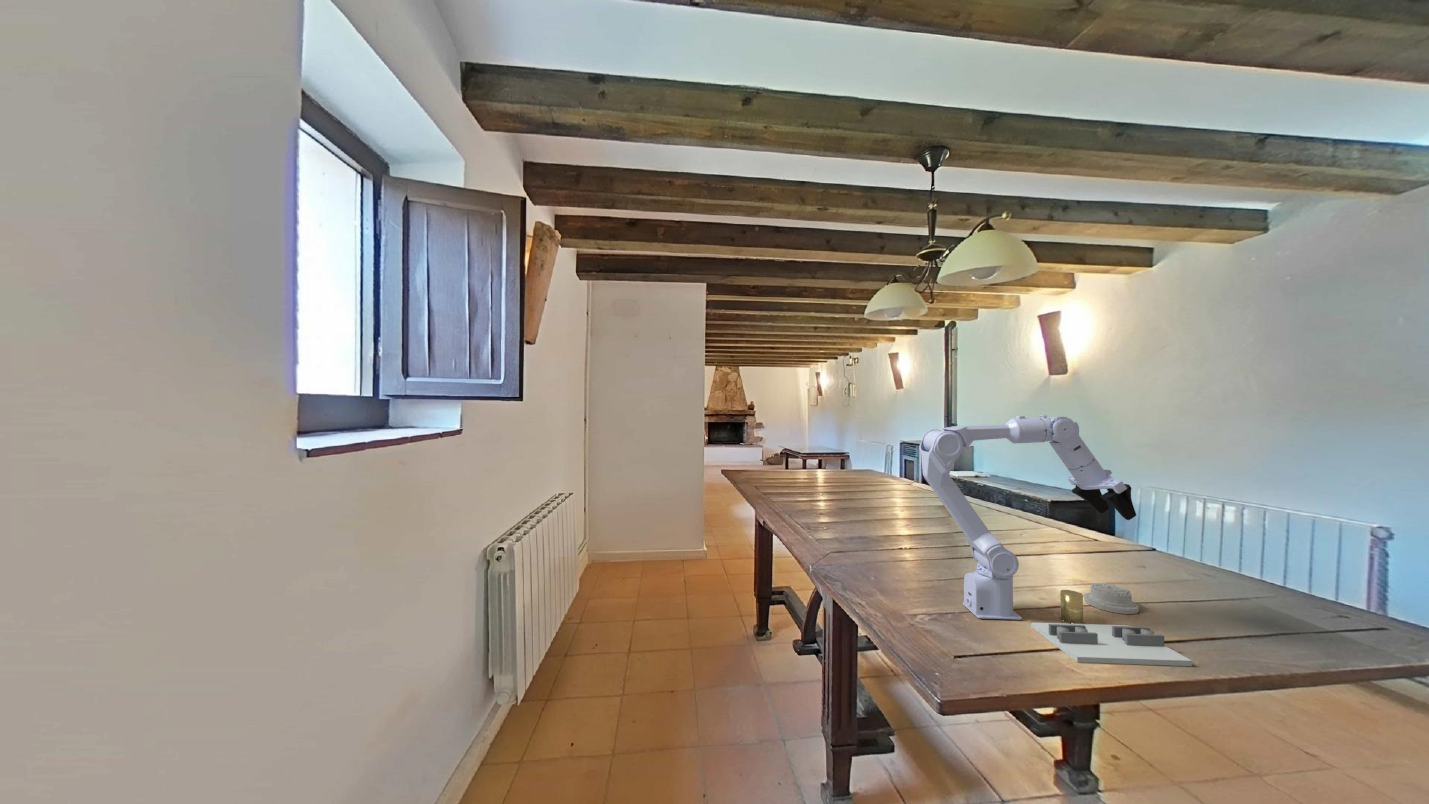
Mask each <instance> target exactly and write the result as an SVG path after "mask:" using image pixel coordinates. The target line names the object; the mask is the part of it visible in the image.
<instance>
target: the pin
mask: <svg viewBox="0 0 1429 804" xmlns="http://www.w3.org/2000/svg"><path fill="white" fill-rule="evenodd" d="M1059 592H1060V594H1059V595H1060V607H1059V608H1060V610H1059V611H1060V613H1059V614H1060V620H1061V621H1063V620H1064V621H1063V622H1065V623H1067V622H1068V623H1067V624H1070V623H1073V624H1082V623H1083V624H1084V594H1082V593H1080V592H1078V591H1076V590H1070V589H1061V590H1060V591H1059Z"/></svg>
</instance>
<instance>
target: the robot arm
mask: <svg viewBox="0 0 1429 804" xmlns="http://www.w3.org/2000/svg"><path fill="white" fill-rule="evenodd" d="M999 439H1007V440H1008V441H1009V442H1010V443H1011V444H1035V443H1037V444H1038V443H1045V442H1048V443H1049V444H1050V446H1051V447H1052V449H1053V450H1054V452H1055V453H1056V455H1057V456H1058V457H1059V459H1060V460H1061V462H1062V463H1063V464H1064V465H1065V467H1066V469H1067V471H1068V472H1069V474H1070V476H1068V477H1067V480H1068V481H1069V482H1070V484H1071V486H1072V485H1073V486H1074V488H1072V490H1071V493H1073V494H1075V495H1076V496H1078V497H1079V498H1081V499H1083V500H1084V501H1086V502H1087V504H1089V505H1090V506H1091V507H1092V508H1094V510H1096V512H1098V513H1099V514H1104V513H1105V512H1107V511H1108V510H1110V506H1112V507H1113V508H1114V509H1115V510H1116V512H1118V514H1119V515H1120V516H1121V517H1122V518H1123V519H1125V520H1126V521H1130V520H1131V519H1134V518H1135V517H1136V516H1137V512H1136V509H1135V507H1134V503H1133V500H1132V487H1131V484H1127V483H1124V482H1123V480H1119V479H1117V478H1115V477H1114V476H1112V474H1113V472H1112V471H1111V470H1110V469H1104V468H1103V467H1102V465H1101V464H1100V463H1099V461H1098V460H1097V458H1096V456H1095V455H1094V454H1093V452H1092V451H1091V450H1090V449H1089V447H1088V446H1087V444H1086V443H1085V442H1084V440H1083V439H1082V437H1081V436H1080V426H1079V423H1078V422H1076V421H1074V420H1073V419H1071V418H1069V417H1067V416H1052V415H1051V416H1050V415H1049V416H1048V415H1047V414H1044V415H1043V414H1040V415H1039V416H1038V417H1036V416H1035V417H1026V416H1025V415H1016V416H1015V418H1010V419H1009V420H1008V421H1007V422H1005V424H982V425H981V424H979V425H978V424H977V425H971V424H970V425H956V426H948V427H942V428H941V429H937V428H936V429H935V428H933V429H930V430H928V431H926V432H925V433H924V434H923V436H922V438H921V441H920V444H919V447H918V448H919V451H920V454H921V455H920V456H921V467H922V476H923V478H924V480H925V481H926V482H927V483H928V485H929V487H930V488H931V489H932V490H933V492H934V493H935V495H936V496H937V498H938V499H939V500H940V502H941V503H942V505H943V506H944V507H945V509H946V510H947V511H948V513H949V515H950V516H951V517H952V519H953V520H954V521H955V523H956V525H958V527H959V529H960V530H961V531H962V533H963V534H964V536H965V537H966V539H967V544H968V545H969V547H970V549H971V554H972V557H973V559H974V561H975V562H977V564H976V570H974V571H973V572H967V573H965V575H964V577H963V602H962V605H963V606H964V607H965V608H966V609H967V610H969V611H970V613H972V614H973V615H974V616H975V617H976V618H978V619H984V620H985V619H988V620H1013V621H1020V620H1021V621H1022V619H1023V617H1022V616H1021V615H1020V614H1018V613H1016V612H1015V611H1014V600H1013V599H1014V576H1015V574H1017V572H1018V570H1019V567H1020V563H1019V559H1018V557H1017V556H1016V554H1014V553H1013V552H1012V551H1010V550H1009V549H1007V548H1006V547H1005V546H1004V545H1003V544H1002V542H1001V541H1000V540H999V539H998V538H997V537H996V536H995V535H994V534H992V532H991V531H990V530H989V529H988V527H987V525H986V524H985V523H984V522H983V520H982V518H981V517H980V516H979V515H978V513H977V512H976V510H975V509H974V508H973V506H972V505H971V503H970V502H969V500H968V499H967V498H966V496H965V495H964V493H963V492H962V491H961V489H960V488H959V486H958V485H957V484H956V483H955V482H956V481H954V480H953V478H952V476H951V475H950V473H951V470H952V467H953V465H954V464H955V462H956V461H957V459H958V458H959V456H960V455H961V453H962V452H963V450H964V448H969V446H971V445H972V444H973V442H975V441H987V440H999ZM1102 489H1103V490H1106V492H1105V493H1103V494H1102V491H1101V490H1102ZM1109 504H1110V506H1109Z"/></svg>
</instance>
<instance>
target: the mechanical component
mask: <svg viewBox="0 0 1429 804" xmlns="http://www.w3.org/2000/svg"><path fill="white" fill-rule="evenodd" d="M1132 596H1133V595H1132V592H1131V590H1129V589H1128V588H1125V587H1122V586H1118V585H1115V584H1109V583H1105V582H1103V583H1102V582H1094V584H1093V583H1091V584H1090V592H1086V593H1084V594H1083V602H1085V603H1086V604H1088V605H1089V606H1092V607H1093V608H1097V609H1099V610H1103V611H1106V612H1110V613H1114V614H1115V613H1116V614H1123V615H1134V614H1138V613H1139V611H1140V610H1139V609H1140V607H1139V604H1138V603H1136V602H1135V601H1133V597H1132Z"/></svg>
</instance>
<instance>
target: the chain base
mask: <svg viewBox="0 0 1429 804" xmlns="http://www.w3.org/2000/svg"><path fill="white" fill-rule="evenodd" d="M1030 627H1031V628H1032V629H1033V630H1034V629H1035V630H1034V631H1036V633H1038V632H1039V633H1038V634H1039V635H1040V636H1042V635H1043V636H1042V637H1044V638H1045V639H1046V640H1047V641H1048V642H1050V643H1052V644H1053V645H1054V646H1055V647H1057V649H1058V650H1060V651H1062V652H1063V653H1064V654H1066V655H1067V656H1068V657H1070V658H1071V659H1072V660H1074V661H1075V662H1076V663H1082V664H1083V663H1086V664H1116V665H1117V664H1118V665H1119V664H1120V665H1139V666H1140V665H1141V666H1143V665H1144V666H1145V665H1146V666H1147V665H1148V666H1175V667H1193V661H1192V660H1191V659H1189V658H1188V657H1186V656H1184V655H1183V654H1180V653H1179V652H1177V651H1175V650H1173V649H1172V648H1170V647H1168V646H1166V645H1165V636H1164V635H1162V634H1156V633H1155V632H1154V631H1153V630H1151V628H1150V627H1148V626H1131V625H1127V624H1097V623H1095V624H1093V623H1090V624H1089V623H1083V624H1070V623H1067V622H1065V623H1063V622H1062V623H1061V622H1030Z"/></svg>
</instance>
